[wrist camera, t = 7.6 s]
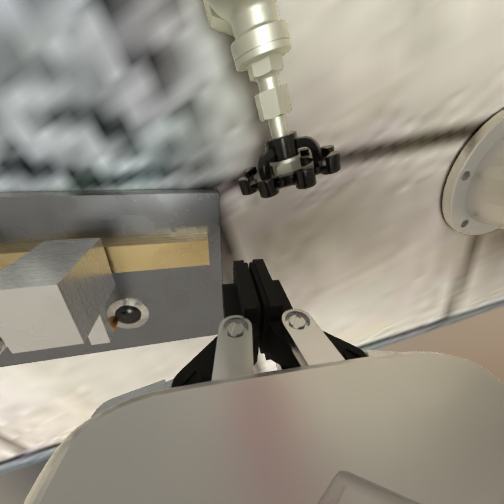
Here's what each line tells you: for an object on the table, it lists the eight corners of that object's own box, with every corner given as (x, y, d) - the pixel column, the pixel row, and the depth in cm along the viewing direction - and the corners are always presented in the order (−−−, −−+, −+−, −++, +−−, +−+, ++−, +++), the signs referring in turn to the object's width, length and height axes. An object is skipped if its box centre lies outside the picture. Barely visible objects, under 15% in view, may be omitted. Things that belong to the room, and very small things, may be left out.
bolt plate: (217, 188, 17) (233, 232, 9) (222, 322, 24) (236, 414, 16) (-126, 194, 13) (-604, 281, 5) (-5, 354, 19) (-139, 499, 12)
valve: (157, -39, 11) (234, 185, 17) (118, -212, 6) (253, 209, 12) (275, -78, 12) (311, 156, 18) (351, -281, 6) (366, 166, 12)
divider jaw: (107, 229, 15) (56, 284, 9) (134, 320, 19) (108, 397, 13) (56, 232, 14) (-31, 292, 9) (94, 325, 18) (50, 408, 13)
